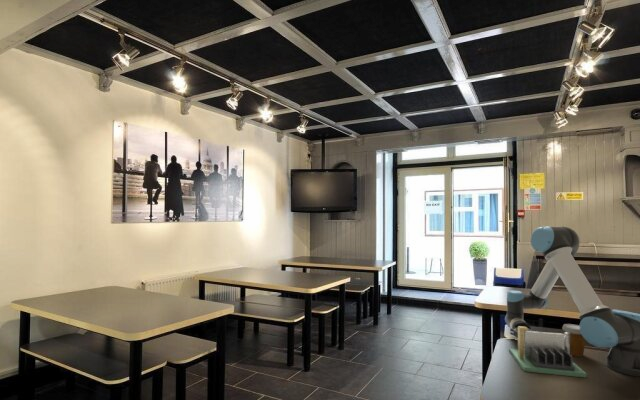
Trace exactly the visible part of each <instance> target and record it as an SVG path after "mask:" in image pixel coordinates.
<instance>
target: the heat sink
mask: <svg viewBox="0 0 640 400" xmlns="http://www.w3.org/2000/svg"><path fill="white" fill-rule="evenodd" d="M524 331H528V328H527V327H523V326H518V338H517V349H518V357H519V358H520V359H524ZM563 334H564V349H562V354H561V353H560V352H559V351H558V350H557V349H554V353H553V352H552V351H551V350H549V349H548V348H546V353H545V352H544V351H543V350H542V349H541V348H540V347H538V352H537V351H536V350H535V349H534V348H533V347H531V346H530V356H529V361H530V362H531V363H532V364H533V365H534V366H535V367H540V368H550V369H560V370H570V371H574V366H573V365H572V361H573V355H570V333H569V332H564V331H563Z"/></svg>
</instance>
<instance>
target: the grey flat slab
mask: <svg viewBox="0 0 640 400" xmlns="http://www.w3.org/2000/svg"><path fill="white" fill-rule="evenodd" d="M530 346H531V347H533V348H534V349H535V350H536V351H537V352H538V347H540V348H541V349H542V350H543V351H544V352H545V353H546V348H548V349H549V350H551V351H552V352H553V353H554V349H557V350H558V351H559V352H560V353H561V354H562V349H564V333H560V332H549V331H548V332H545V331H540V332H535V330H534V331H524V358H529V356H530Z"/></svg>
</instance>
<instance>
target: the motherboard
mask: <svg viewBox="0 0 640 400" xmlns="http://www.w3.org/2000/svg"><path fill="white" fill-rule="evenodd" d="M508 352H509V354H510V355H511V356H512V357H513V360H515V361H516V363H517V364H518V365H519V367H520V368H521V369H522V371H524V372H528V373H529V372H530V373H540V374H547V375H548V374H551V375H558V376H569V377H570V376H571V377H579V378H587V372H585V370H583V369H582V368H581V367H580V366H578V365H577V364H576V363H575V362H574V361H573V360H572V365H573V366H574V371H570V370H560V369H550V368H540V367H535V366H534V365H533V364H532V363H531V362H530V361H529V358H524V359H520V358H519V357H518V348H508Z"/></svg>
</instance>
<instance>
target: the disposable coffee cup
mask: <svg viewBox="0 0 640 400" xmlns="http://www.w3.org/2000/svg"><path fill="white" fill-rule="evenodd" d="M579 327H580V324H579V325H578V324H572V323H564V324H563V325H562V327H561V329H562V330H563V331H562V332H563V333H564V332H569V333H570V354H571V356H574V355H575V357H583V356H584V353H585V346H586V340H585V339H584V337H583V336H582V334H581V332H580V328H579Z"/></svg>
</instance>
